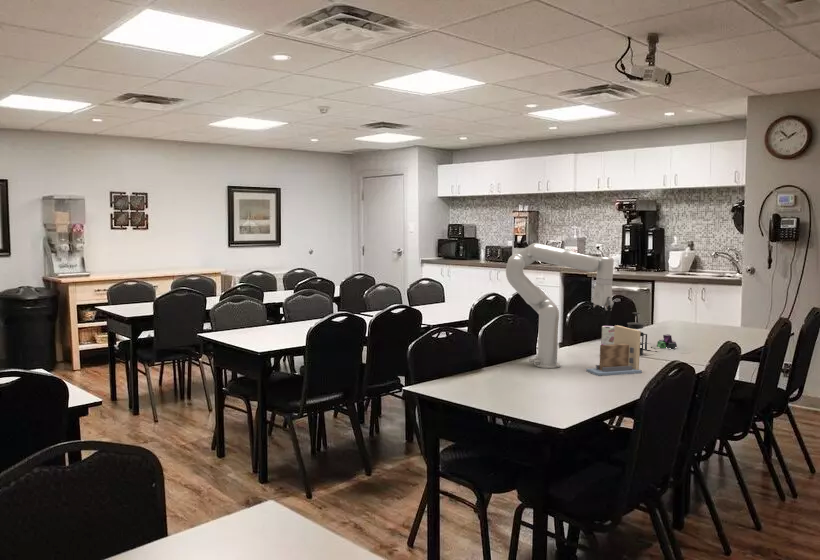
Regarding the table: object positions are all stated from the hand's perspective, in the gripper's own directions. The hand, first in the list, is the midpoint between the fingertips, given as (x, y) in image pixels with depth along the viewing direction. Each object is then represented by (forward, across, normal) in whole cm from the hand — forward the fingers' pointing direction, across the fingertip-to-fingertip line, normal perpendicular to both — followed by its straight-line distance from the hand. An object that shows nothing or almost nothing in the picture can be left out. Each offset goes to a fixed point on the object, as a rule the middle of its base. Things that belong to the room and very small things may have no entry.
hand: (601, 317), depth 321 cm
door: (+24, +10, +2) cm, 26 cm away
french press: (+25, -28, +40) cm, 54 cm away
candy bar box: (+25, -24, +23) cm, 42 cm away
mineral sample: (+25, -42, +69) cm, 85 cm away
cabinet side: (+25, +5, +2) cm, 26 cm away
